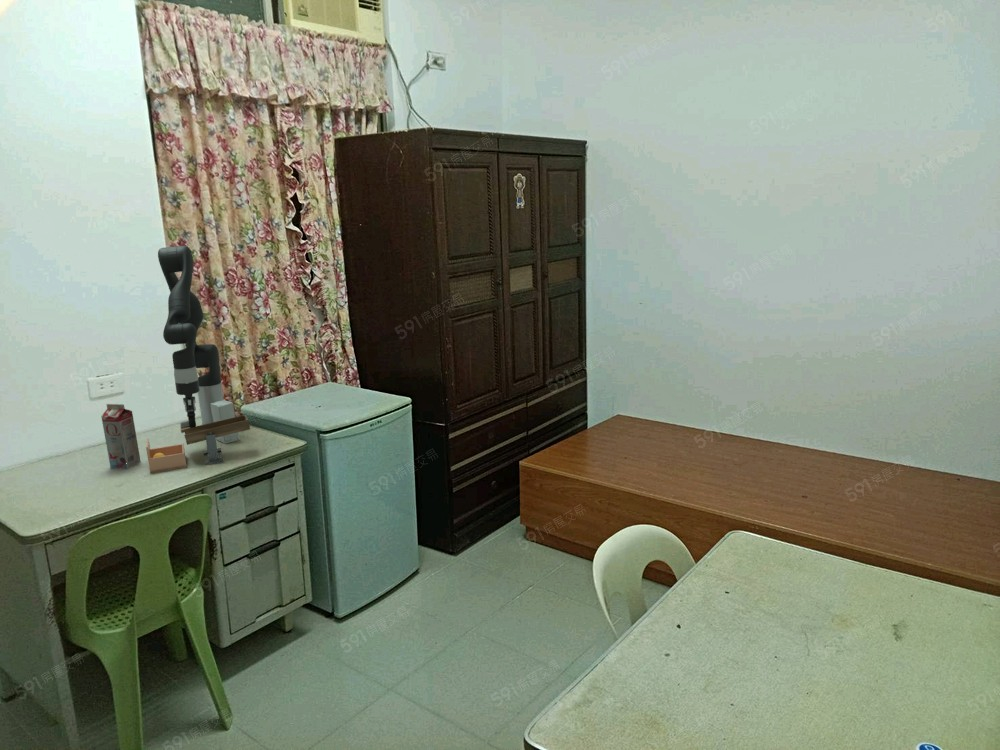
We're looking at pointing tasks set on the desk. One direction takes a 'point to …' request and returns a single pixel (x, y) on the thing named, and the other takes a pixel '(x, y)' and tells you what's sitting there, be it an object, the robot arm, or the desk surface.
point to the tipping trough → (214, 429)
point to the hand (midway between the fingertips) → (192, 423)
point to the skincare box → (222, 412)
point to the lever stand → (212, 450)
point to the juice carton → (120, 436)
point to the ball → (158, 455)
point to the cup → (166, 458)
